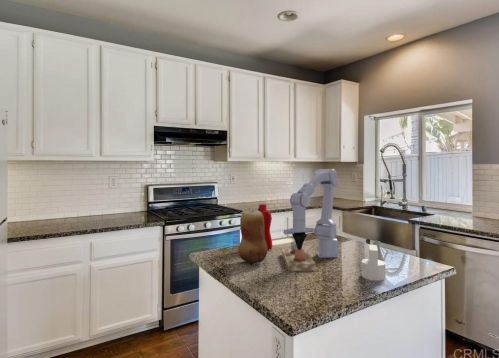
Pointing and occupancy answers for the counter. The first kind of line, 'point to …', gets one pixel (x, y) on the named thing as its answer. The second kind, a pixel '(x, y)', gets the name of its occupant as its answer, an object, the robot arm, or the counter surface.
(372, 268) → the base with upright slab
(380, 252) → the flask
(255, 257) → the butternut squash
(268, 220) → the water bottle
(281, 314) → the counter surface
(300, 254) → the pink rounded block
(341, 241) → the counter surface
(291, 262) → the socket block
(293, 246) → the steel plunger
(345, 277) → the counter surface
